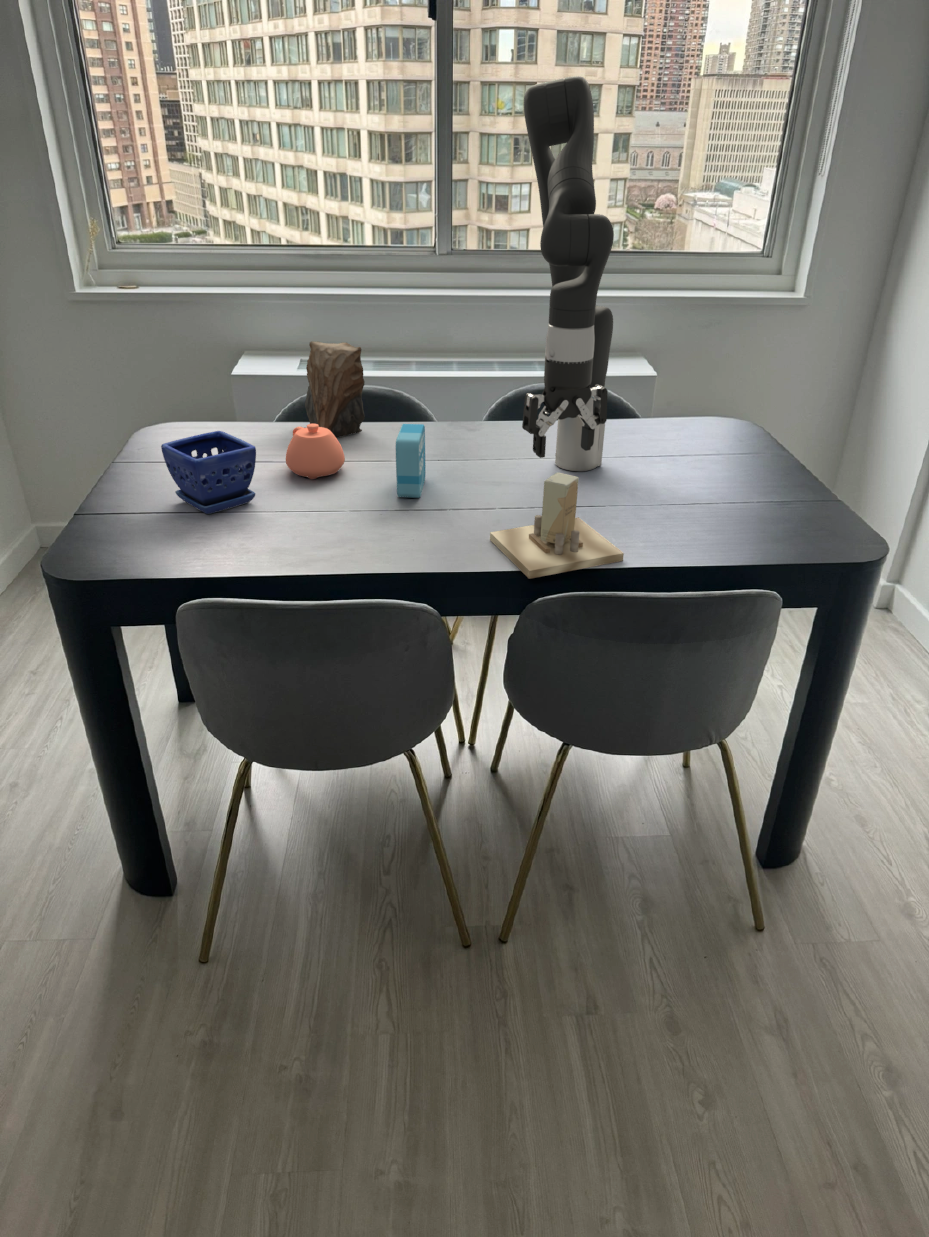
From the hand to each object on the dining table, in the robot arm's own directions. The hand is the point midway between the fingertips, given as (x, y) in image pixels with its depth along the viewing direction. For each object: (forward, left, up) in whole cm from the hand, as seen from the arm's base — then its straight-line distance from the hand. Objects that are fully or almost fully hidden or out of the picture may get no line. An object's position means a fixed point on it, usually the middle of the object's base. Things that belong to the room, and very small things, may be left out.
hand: (562, 452), depth 145 cm
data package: (+14, -36, -18) cm, 43 cm away
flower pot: (+52, -43, -18) cm, 70 cm away
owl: (+20, -76, -18) cm, 81 cm away
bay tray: (0, 0, -18) cm, 18 cm away
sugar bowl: (+30, -53, -18) cm, 64 cm away
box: (0, 0, -16) cm, 16 cm away
